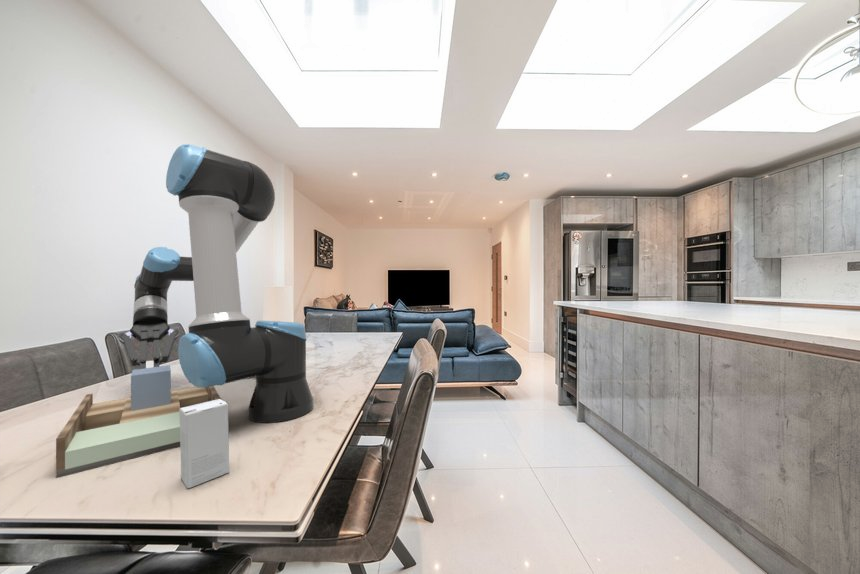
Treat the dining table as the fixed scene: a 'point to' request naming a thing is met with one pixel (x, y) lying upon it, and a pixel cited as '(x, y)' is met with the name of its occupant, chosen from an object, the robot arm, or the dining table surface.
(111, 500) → the dining table surface
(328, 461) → the dining table surface
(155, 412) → the box
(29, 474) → the dining table surface
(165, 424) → the pad
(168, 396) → the slate block
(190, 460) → the skincare box
